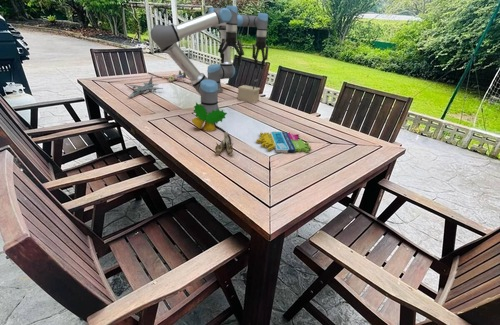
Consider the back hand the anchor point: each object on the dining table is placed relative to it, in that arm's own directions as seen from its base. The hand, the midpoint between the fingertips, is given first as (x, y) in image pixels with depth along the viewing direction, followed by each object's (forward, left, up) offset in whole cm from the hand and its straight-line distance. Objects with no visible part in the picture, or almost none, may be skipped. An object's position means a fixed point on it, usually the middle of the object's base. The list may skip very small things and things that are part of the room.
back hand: (259, 68), depth 210 cm
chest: (-8, -1, -27) cm, 28 cm away
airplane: (-84, -51, -27) cm, 102 cm away
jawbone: (+40, -89, -27) cm, 102 cm away
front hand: (-6, -28, +5) cm, 29 cm away
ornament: (+13, -72, -27) cm, 78 cm away
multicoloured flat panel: (+58, -58, -27) cm, 87 cm away
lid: (-7, -1, -18) cm, 19 cm away
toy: (-106, +4, -27) cm, 110 cm away
